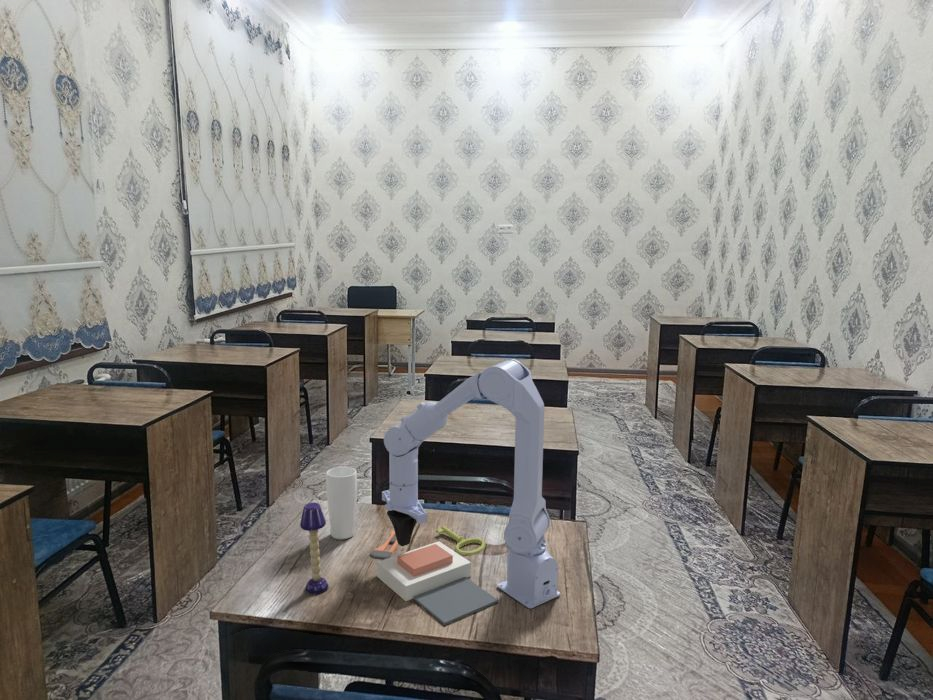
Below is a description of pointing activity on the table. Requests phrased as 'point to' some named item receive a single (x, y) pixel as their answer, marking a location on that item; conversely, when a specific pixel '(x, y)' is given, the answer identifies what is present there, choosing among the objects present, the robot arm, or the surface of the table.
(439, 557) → the pink rubber eraser
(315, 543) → the toy lamp
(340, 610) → the table surface
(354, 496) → the drinking glass
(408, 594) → the white rectangular block
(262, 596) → the table surface
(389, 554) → the utility knife
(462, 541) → the key
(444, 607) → the mat
